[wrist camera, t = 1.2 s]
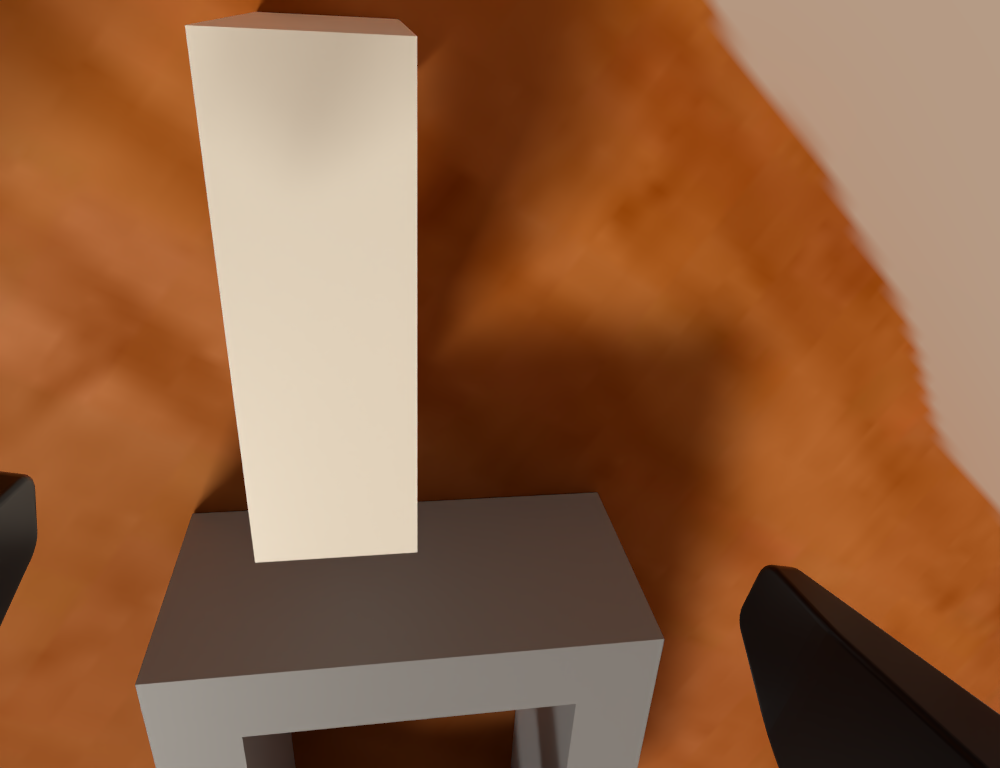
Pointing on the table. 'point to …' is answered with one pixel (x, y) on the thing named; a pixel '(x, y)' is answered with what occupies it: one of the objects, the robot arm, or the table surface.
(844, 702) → the robot arm
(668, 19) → the table surface
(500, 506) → the frame
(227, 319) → the cream block
